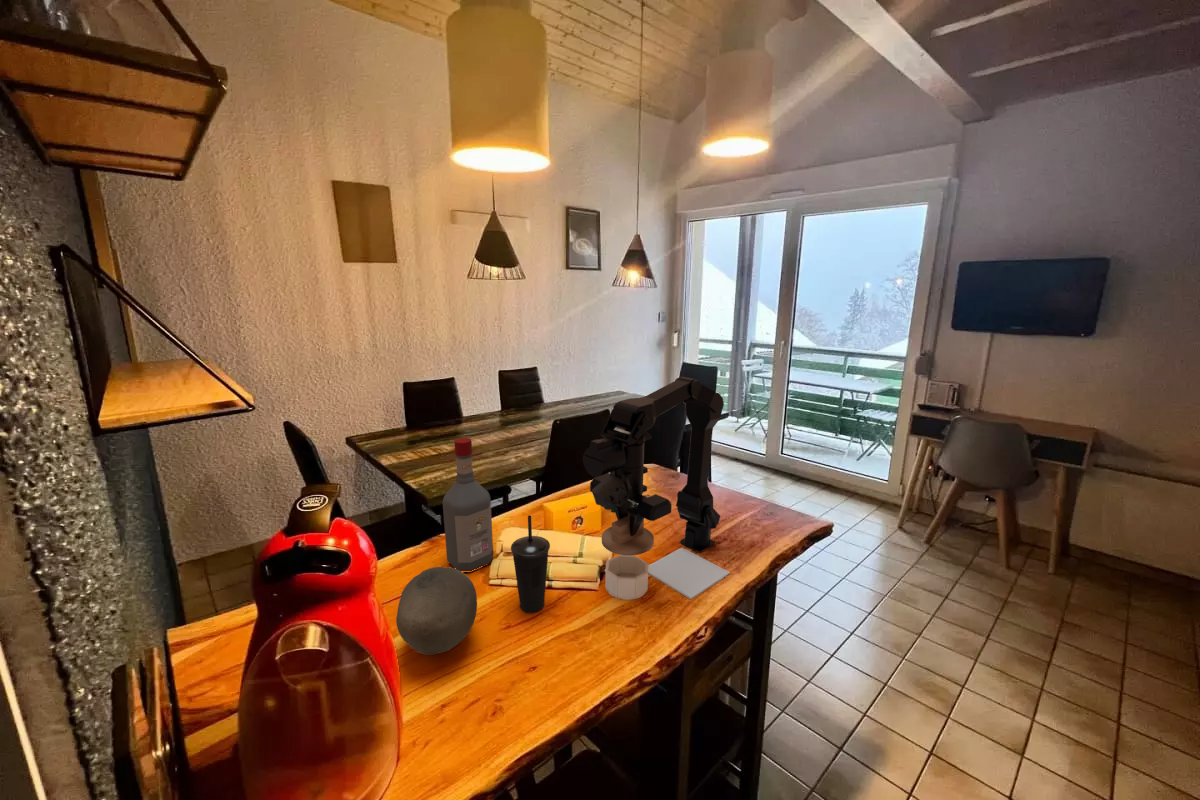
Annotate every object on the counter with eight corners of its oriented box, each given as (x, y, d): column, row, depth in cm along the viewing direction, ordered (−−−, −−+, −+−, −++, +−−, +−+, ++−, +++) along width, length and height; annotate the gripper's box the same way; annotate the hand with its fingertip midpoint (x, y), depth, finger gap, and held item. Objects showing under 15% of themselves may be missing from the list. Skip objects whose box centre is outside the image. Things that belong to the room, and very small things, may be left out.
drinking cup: (557, 598, 103) (555, 510, 98) (541, 621, 96) (538, 528, 91) (524, 590, 105) (521, 504, 100) (506, 613, 98) (502, 521, 93)
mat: (681, 548, 122) (681, 547, 121) (729, 574, 111) (730, 572, 111) (642, 570, 113) (642, 568, 113) (690, 599, 102) (690, 598, 102)
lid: (628, 523, 112) (628, 503, 110) (664, 542, 104) (665, 521, 102) (590, 539, 104) (591, 518, 103) (627, 561, 96) (627, 538, 95)
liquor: (498, 561, 116) (492, 440, 109) (463, 577, 110) (454, 450, 102) (477, 546, 122) (470, 431, 115) (443, 561, 116) (433, 440, 109)
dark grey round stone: (384, 650, 88) (375, 576, 84) (452, 611, 99) (447, 543, 95) (426, 692, 79) (419, 612, 76) (497, 644, 90) (493, 571, 86)
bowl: (626, 570, 113) (627, 550, 112) (655, 588, 106) (656, 568, 105) (597, 585, 107) (597, 565, 106) (626, 606, 101) (626, 584, 99)
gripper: (570, 459, 101) (570, 528, 105) (634, 488, 88) (632, 566, 92) (609, 448, 109) (609, 512, 112) (674, 472, 95) (671, 545, 99)
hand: (628, 532), depth 104 cm, fingers closed on lid, 2 cm apart
